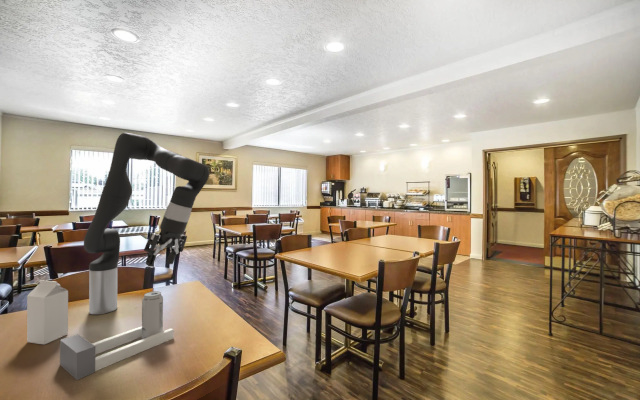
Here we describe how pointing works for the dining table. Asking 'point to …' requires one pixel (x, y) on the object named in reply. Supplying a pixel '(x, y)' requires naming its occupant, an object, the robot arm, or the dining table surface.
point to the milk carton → (47, 313)
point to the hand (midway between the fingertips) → (159, 264)
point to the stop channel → (81, 353)
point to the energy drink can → (152, 314)
